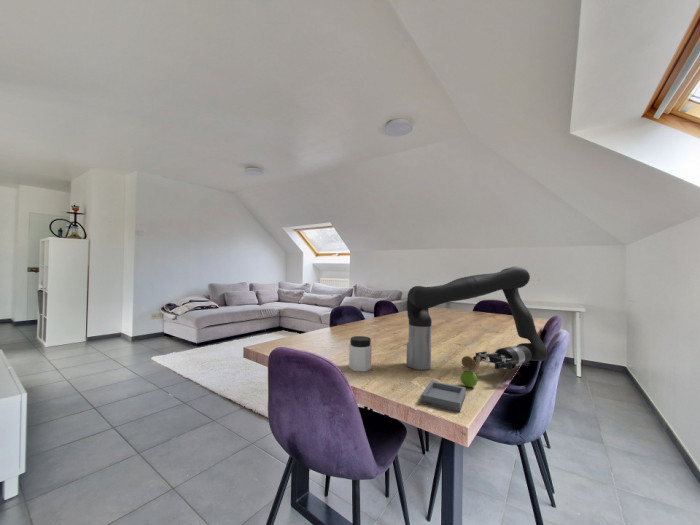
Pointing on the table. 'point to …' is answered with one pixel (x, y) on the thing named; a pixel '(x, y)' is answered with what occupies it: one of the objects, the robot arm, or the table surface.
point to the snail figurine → (469, 371)
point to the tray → (444, 396)
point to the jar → (360, 353)
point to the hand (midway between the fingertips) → (484, 362)
